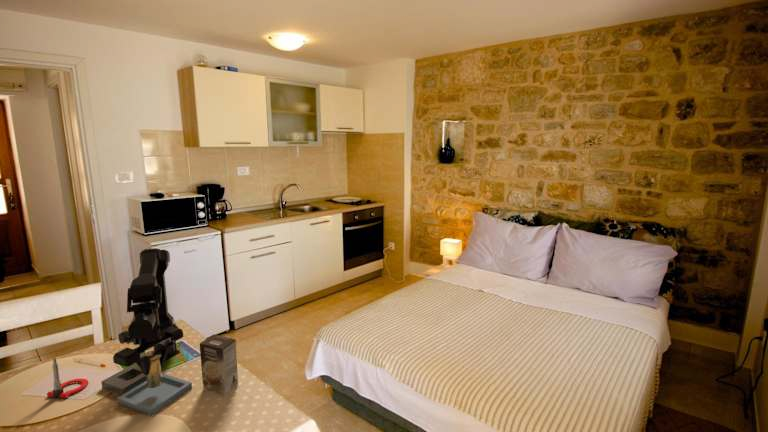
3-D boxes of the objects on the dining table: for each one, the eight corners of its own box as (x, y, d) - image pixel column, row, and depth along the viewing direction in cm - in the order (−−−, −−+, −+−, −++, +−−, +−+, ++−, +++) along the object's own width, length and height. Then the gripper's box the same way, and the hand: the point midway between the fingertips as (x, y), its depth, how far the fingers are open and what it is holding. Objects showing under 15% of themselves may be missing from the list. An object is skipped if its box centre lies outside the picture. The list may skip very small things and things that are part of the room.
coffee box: (202, 390, 121) (197, 343, 118) (216, 378, 127) (213, 333, 124) (225, 396, 118) (221, 348, 115) (239, 384, 124) (236, 338, 121)
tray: (160, 378, 127) (160, 372, 127) (192, 388, 122) (191, 382, 122) (118, 404, 114) (117, 398, 114) (151, 416, 109) (150, 410, 109)
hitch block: (138, 368, 133) (137, 361, 132) (159, 375, 129) (158, 368, 128) (102, 388, 122) (101, 381, 121) (123, 396, 118) (122, 389, 117)
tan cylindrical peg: (156, 377, 121) (153, 348, 119) (168, 381, 119) (165, 352, 117) (140, 386, 116) (137, 357, 114) (153, 391, 114) (149, 361, 112)
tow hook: (72, 380, 126) (44, 397, 117) (69, 343, 125) (39, 357, 116) (95, 383, 125) (68, 400, 116) (91, 345, 123) (63, 360, 114)
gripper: (157, 306, 125) (162, 350, 128) (96, 332, 108) (104, 381, 111) (182, 312, 121) (186, 357, 124) (123, 339, 104) (130, 391, 107)
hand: (153, 370), depth 117 cm, fingers closed on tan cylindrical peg, 4 cm apart
